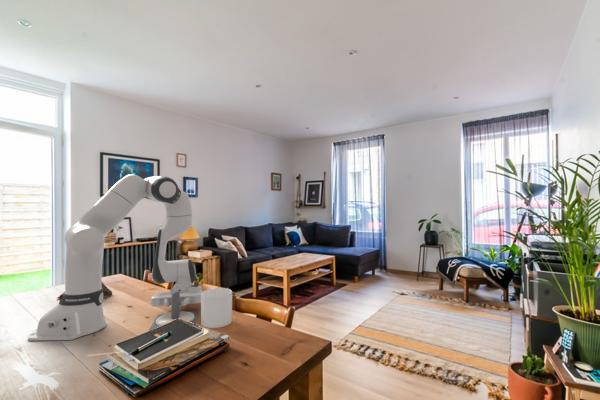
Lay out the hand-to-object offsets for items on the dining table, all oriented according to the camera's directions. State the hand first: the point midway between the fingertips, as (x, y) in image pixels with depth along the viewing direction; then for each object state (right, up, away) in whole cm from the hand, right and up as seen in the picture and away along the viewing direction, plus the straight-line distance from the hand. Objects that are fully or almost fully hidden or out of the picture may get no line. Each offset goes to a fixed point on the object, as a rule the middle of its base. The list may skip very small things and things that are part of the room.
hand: (175, 304), depth 117 cm
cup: (+16, -7, 0) cm, 18 cm away
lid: (0, -7, +1) cm, 7 cm away
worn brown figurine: (-50, -7, +30) cm, 59 cm away
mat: (0, -7, +1) cm, 7 cm away
